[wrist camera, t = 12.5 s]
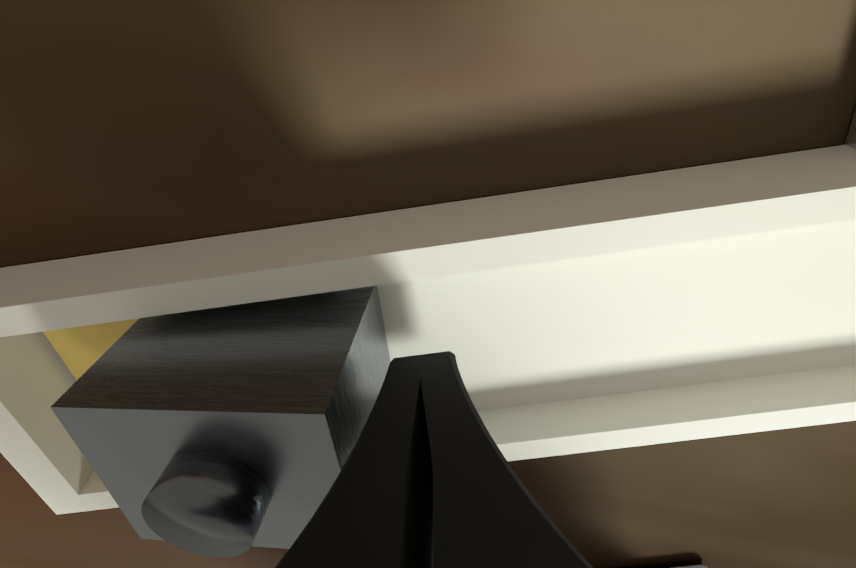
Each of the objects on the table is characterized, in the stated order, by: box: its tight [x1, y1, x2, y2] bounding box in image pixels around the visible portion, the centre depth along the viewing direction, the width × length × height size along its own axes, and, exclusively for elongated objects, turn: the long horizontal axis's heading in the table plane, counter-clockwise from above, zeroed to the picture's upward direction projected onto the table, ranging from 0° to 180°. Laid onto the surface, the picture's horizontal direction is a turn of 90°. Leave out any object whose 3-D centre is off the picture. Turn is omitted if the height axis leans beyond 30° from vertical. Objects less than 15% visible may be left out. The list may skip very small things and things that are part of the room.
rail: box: [0, 145, 856, 515], centre depth 12 cm, size 7×24×2 cm, turn 98°
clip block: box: [50, 285, 390, 558], centre depth 11 cm, size 4×5×5 cm
